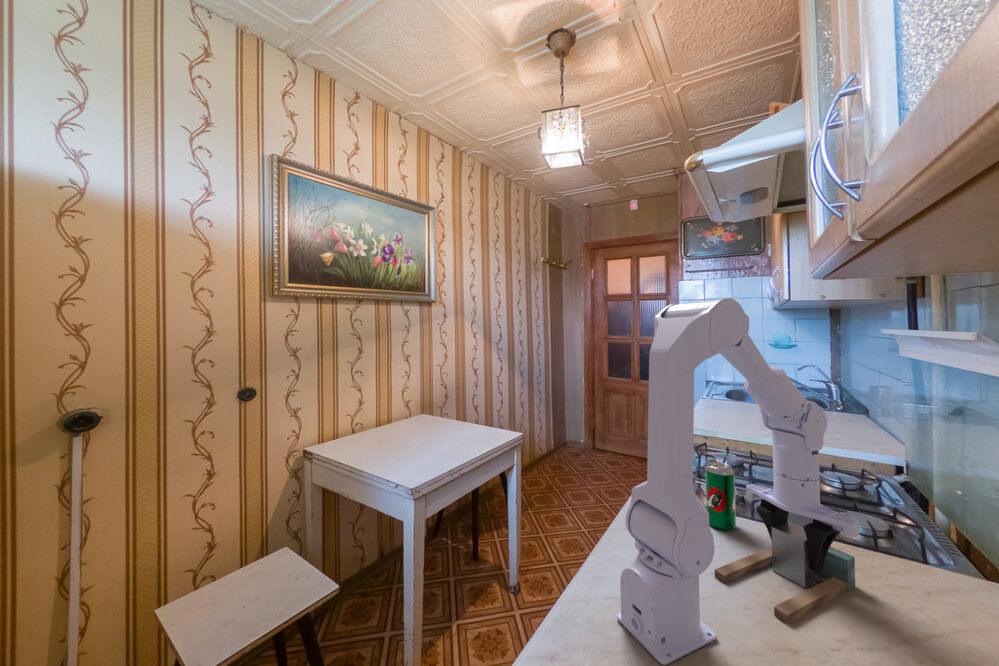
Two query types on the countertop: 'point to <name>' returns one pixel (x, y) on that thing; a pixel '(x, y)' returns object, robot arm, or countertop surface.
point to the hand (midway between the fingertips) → (797, 559)
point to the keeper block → (792, 554)
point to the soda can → (720, 495)
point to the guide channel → (837, 582)
